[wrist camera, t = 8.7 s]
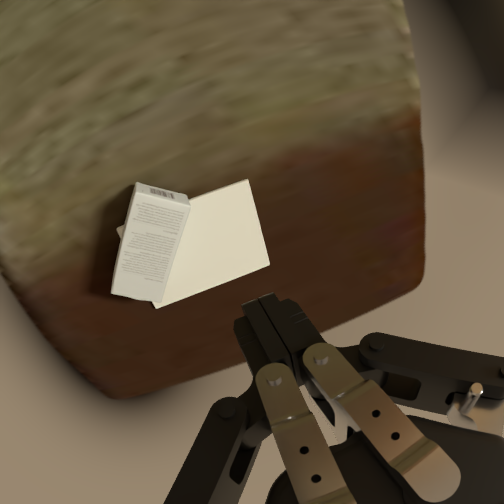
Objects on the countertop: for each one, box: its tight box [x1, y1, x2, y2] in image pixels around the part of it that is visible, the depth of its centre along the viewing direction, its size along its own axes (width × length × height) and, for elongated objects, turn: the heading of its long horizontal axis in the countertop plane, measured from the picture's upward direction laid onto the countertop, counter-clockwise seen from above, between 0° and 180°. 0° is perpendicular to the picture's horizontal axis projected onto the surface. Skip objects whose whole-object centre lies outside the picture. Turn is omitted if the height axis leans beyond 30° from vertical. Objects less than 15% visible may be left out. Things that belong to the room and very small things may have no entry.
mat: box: [116, 179, 270, 309], centre depth 38 cm, size 12×16×1 cm
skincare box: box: [111, 182, 191, 303], centre depth 34 cm, size 6×4×12 cm
